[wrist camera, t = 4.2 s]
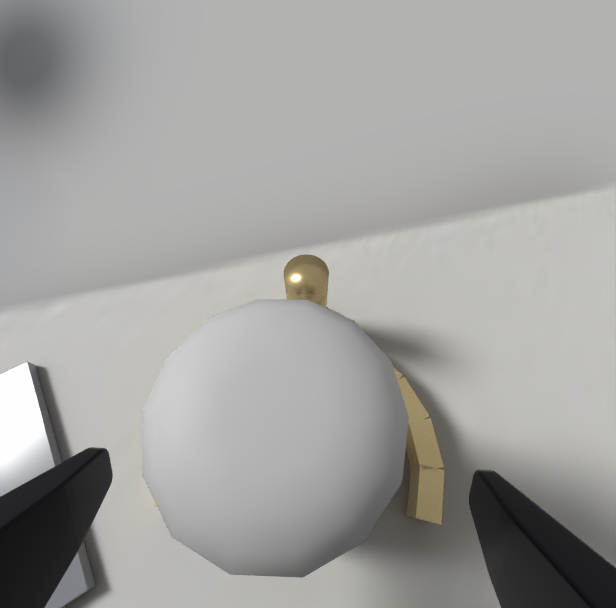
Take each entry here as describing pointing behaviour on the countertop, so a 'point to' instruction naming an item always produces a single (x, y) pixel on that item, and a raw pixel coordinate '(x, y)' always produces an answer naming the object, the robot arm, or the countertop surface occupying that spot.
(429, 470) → the gold curved piece
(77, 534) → the robot arm
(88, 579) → the coaster
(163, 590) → the countertop surface
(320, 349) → the salt shaker
